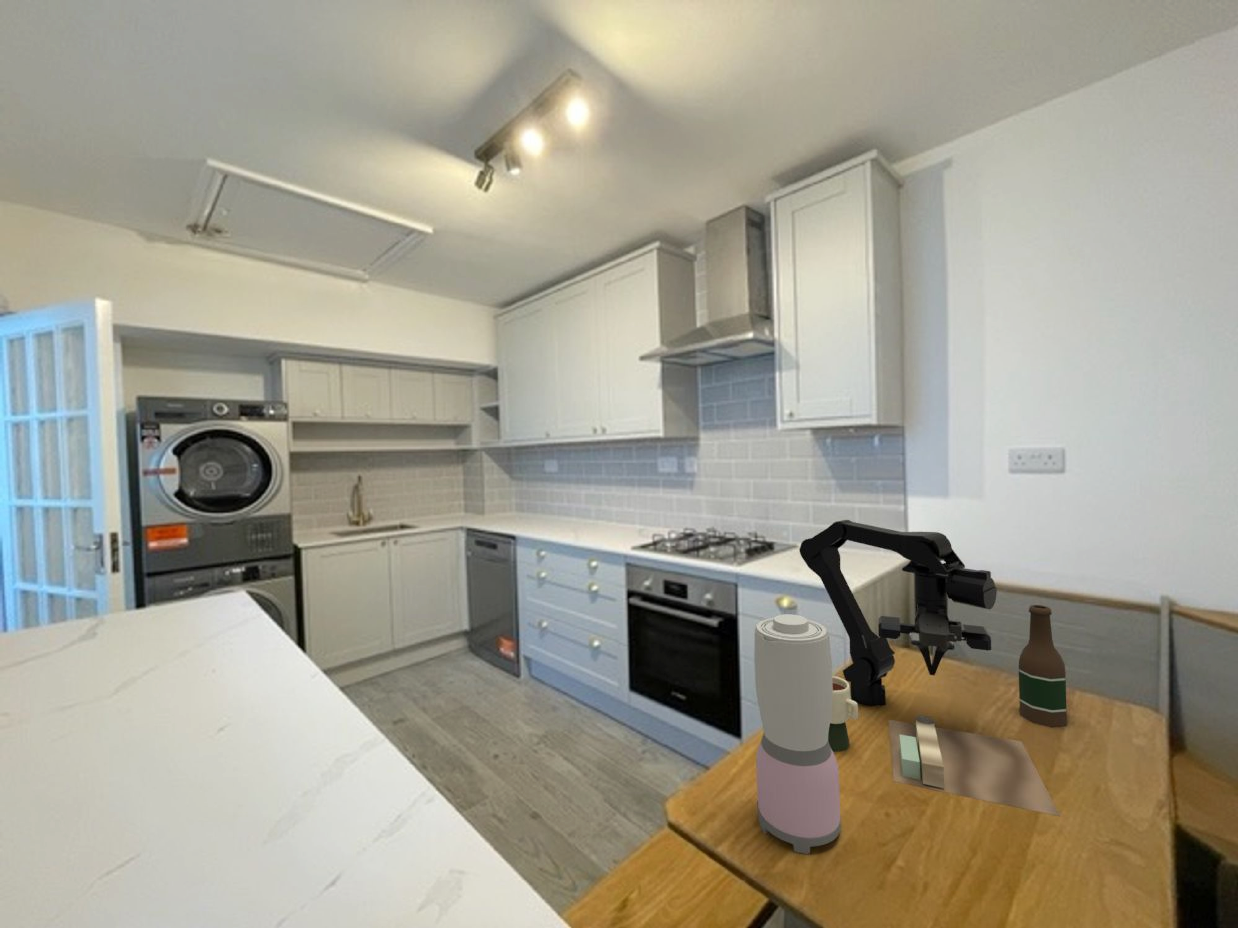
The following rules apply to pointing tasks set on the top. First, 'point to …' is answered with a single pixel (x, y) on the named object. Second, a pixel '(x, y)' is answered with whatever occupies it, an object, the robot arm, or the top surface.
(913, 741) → the block
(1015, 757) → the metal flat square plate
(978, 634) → the robot arm
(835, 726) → the character mug
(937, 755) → the fold-out leg
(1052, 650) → the beer bottle
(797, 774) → the blender
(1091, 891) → the top surface
